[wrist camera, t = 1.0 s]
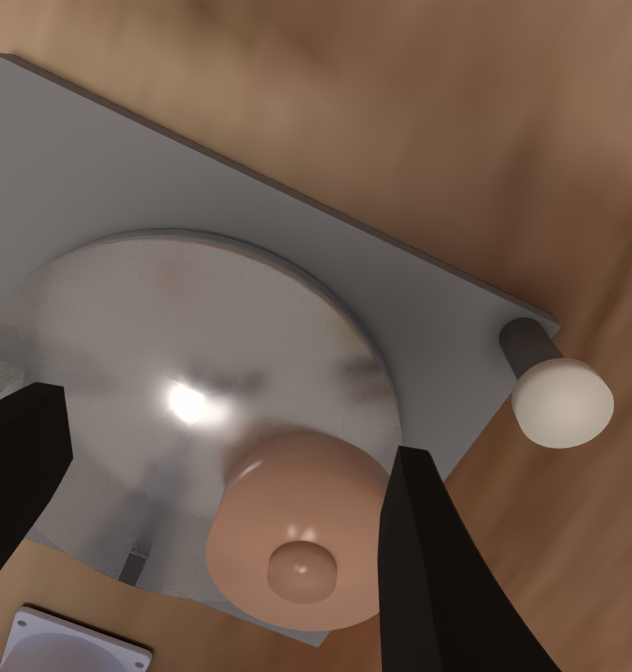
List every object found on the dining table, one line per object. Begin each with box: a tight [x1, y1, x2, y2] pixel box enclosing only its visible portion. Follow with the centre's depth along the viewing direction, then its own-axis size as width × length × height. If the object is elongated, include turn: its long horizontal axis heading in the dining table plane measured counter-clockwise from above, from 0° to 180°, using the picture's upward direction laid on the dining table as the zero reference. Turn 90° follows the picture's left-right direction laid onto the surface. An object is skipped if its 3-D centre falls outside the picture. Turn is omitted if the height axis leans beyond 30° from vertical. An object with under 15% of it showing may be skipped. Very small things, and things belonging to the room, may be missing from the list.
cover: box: [206, 434, 390, 631], centre depth 20 cm, size 7×7×4 cm
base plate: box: [0, 53, 614, 647], centre depth 21 cm, size 21×21×6 cm
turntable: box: [0, 229, 403, 601], centre depth 20 cm, size 17×20×5 cm
